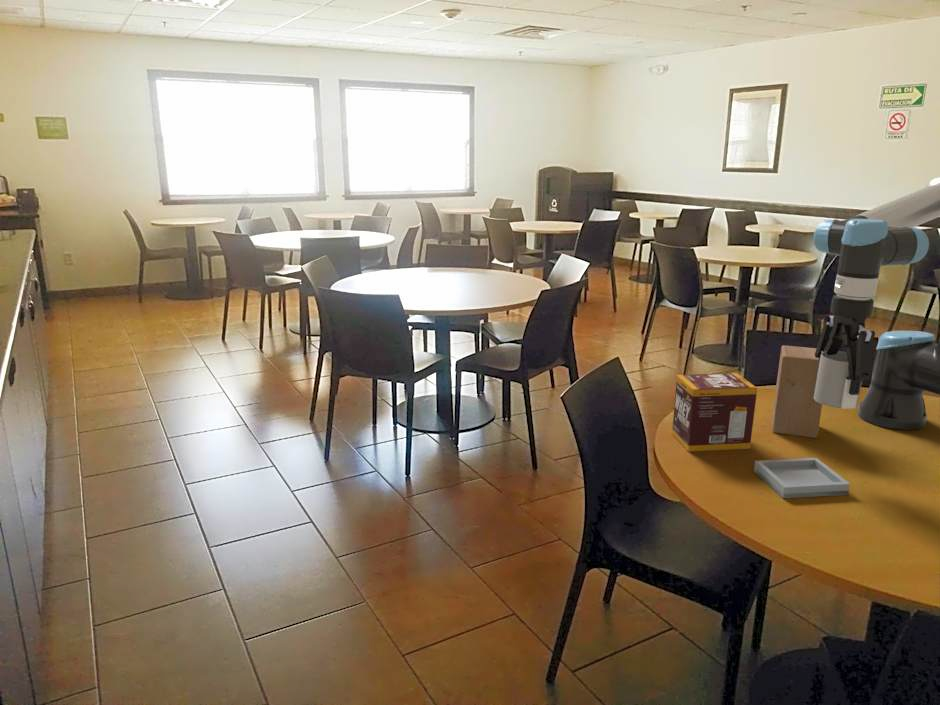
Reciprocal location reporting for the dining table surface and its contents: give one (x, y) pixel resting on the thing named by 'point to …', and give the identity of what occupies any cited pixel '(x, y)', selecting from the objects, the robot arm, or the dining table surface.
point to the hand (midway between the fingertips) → (835, 399)
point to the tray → (801, 478)
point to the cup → (832, 379)
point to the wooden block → (796, 393)
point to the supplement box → (714, 411)
